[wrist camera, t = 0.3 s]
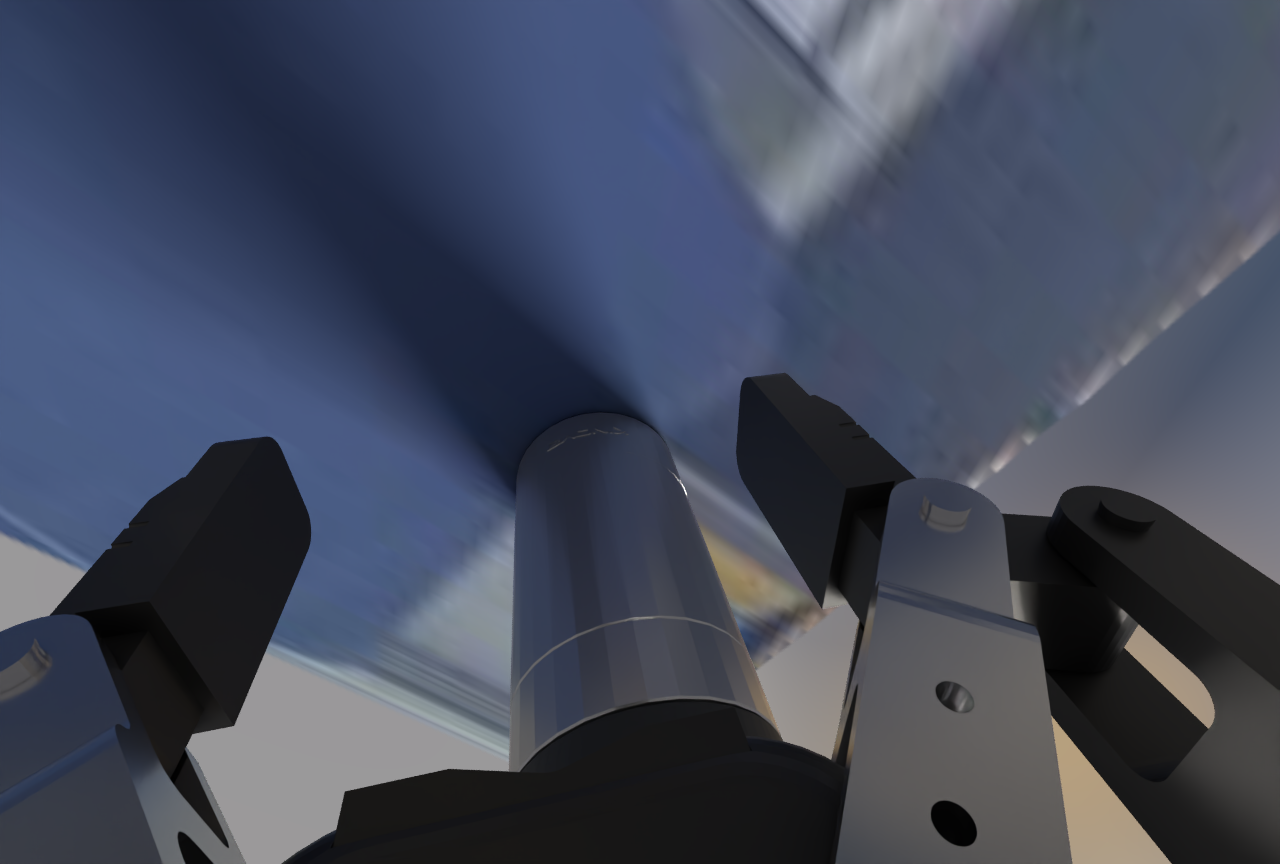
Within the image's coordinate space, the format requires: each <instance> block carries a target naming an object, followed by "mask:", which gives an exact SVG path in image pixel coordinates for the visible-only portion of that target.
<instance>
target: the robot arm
mask: <svg viewBox="0 0 1280 864" xmlns="http://www.w3.org/2000/svg"><path fill="white" fill-rule="evenodd" d="M736 456H737V464H738V469H739V472H740V475H741V478H742V480H743V482H744V484H745V485H746V487H747V489H748V490H749V492H750V493H751V495H752V497H753V498H754V500H755V502H756V503H757V505H758V506H759V508H760V510H761V511H762V513H763V514H764V516H765V518H766V519H767V521H768V523H769V524H770V526H771V527H772V529H773V531H774V532H775V534H776V535H777V537H778V539H779V540H780V542H781V544H782V545H783V547H784V548H785V550H786V552H787V553H788V555H789V556H790V558H791V560H792V561H793V563H794V565H795V566H796V568H797V569H798V571H799V573H800V574H801V576H802V577H803V579H804V581H805V582H806V584H807V586H808V587H809V589H810V590H811V592H812V594H813V595H814V597H815V598H816V600H817V602H818V603H819V605H820V607H821V608H822V609H827V608H832V607H837V606H842V605H847V604H849V605H850V606H851V608H852V609H853V611H854V612H855V614H856V615H857V617H858V618H859V622H858V626H857V630H856V635H855V641H854V646H853V651H852V657H851V662H850V668H849V673H848V678H847V684H846V689H845V694H844V700H843V705H842V711H841V716H840V722H839V727H838V731H837V737H836V741H835V746H834V750H833V754H832V759H831V760H830V759H828V758H826V757H825V756H822V755H820V754H817V753H815V752H813V751H810V750H808V749H806V748H803V747H800V746H797V745H793V744H790V743H787V742H783V740H782V738H781V735H780V732H779V730H778V727H777V724H776V722H775V719H774V717H773V714H772V711H771V709H770V706H769V704H768V701H767V699H766V696H765V693H764V691H763V688H762V686H761V683H760V681H759V678H758V676H757V673H756V670H755V668H754V665H753V663H752V660H751V659H750V656H749V654H748V651H747V648H746V646H745V643H744V641H743V638H742V636H741V633H740V630H739V628H738V625H737V623H736V620H735V618H734V615H733V612H732V610H731V607H730V605H729V602H728V600H727V597H726V594H725V592H724V589H723V587H722V584H721V582H720V579H719V577H718V574H717V571H716V569H715V566H714V564H713V561H712V559H711V556H710V553H709V551H708V548H707V546H706V543H705V541H704V538H703V535H702V533H701V530H700V528H699V525H698V523H697V520H696V517H695V515H694V512H693V510H692V507H691V505H690V502H689V499H688V497H687V494H686V491H685V489H684V486H683V484H682V481H681V479H680V476H679V474H678V471H677V469H676V466H675V464H674V461H673V459H672V456H671V454H670V451H669V448H668V446H667V445H666V444H665V442H664V441H663V439H662V438H661V437H660V435H659V434H657V433H656V432H655V431H654V430H653V429H651V428H650V427H649V426H648V425H646V424H644V423H642V422H640V421H638V420H636V419H634V418H631V417H628V416H624V415H620V414H614V413H602V412H599V413H590V414H582V415H578V416H575V417H572V418H568V419H565V420H563V421H561V422H559V423H557V424H555V425H553V426H551V427H550V428H548V429H547V430H546V431H545V432H543V433H542V434H541V435H539V436H538V437H537V438H536V439H535V440H534V441H533V443H532V444H531V445H530V446H529V448H528V449H527V450H526V452H525V454H524V456H523V458H522V460H521V462H520V464H519V469H518V473H517V478H516V516H515V543H514V580H513V618H512V655H511V693H510V747H509V772H506V771H483V770H460V769H447V770H442V771H438V772H433V773H428V774H424V775H419V776H414V777H410V778H405V779H401V780H396V781H391V782H387V783H382V784H378V785H373V786H368V787H364V788H360V789H355V790H350V791H345V793H344V798H343V802H342V807H341V811H340V816H339V820H338V825H337V829H336V830H335V831H333V832H331V833H329V834H327V835H325V836H323V837H321V838H320V839H318V840H317V841H315V842H313V843H311V844H310V845H308V846H307V847H305V848H303V849H302V850H300V851H298V852H297V853H295V854H294V855H293V856H291V857H290V858H289V859H287V860H286V861H284V862H283V863H282V864H1072V858H1071V851H1070V843H1069V837H1068V830H1067V822H1066V816H1065V808H1064V801H1063V795H1062V788H1061V781H1060V774H1059V768H1058V760H1057V753H1056V746H1055V739H1054V732H1053V725H1052V718H1051V716H1052V717H1053V718H1054V719H1055V720H1056V722H1057V723H1058V724H1059V725H1060V727H1061V728H1062V729H1063V730H1064V732H1065V733H1066V734H1067V735H1068V736H1069V738H1070V739H1071V740H1072V741H1073V743H1074V744H1075V745H1076V746H1077V748H1078V749H1079V750H1080V751H1081V752H1082V754H1083V755H1084V756H1085V757H1086V759H1087V760H1088V761H1089V762H1090V763H1091V765H1092V766H1093V767H1094V768H1095V770H1096V771H1097V772H1098V773H1099V774H1100V776H1101V777H1102V778H1103V779H1104V781H1105V782H1106V783H1107V784H1108V786H1109V787H1110V788H1111V789H1112V791H1113V792H1114V793H1115V794H1116V795H1117V797H1118V798H1119V799H1120V800H1121V802H1122V803H1123V804H1124V805H1125V807H1126V808H1127V809H1128V810H1129V812H1130V813H1131V814H1132V815H1133V816H1134V818H1135V819H1136V820H1137V821H1138V823H1139V824H1140V825H1141V826H1142V828H1143V829H1144V830H1145V831H1146V832H1147V834H1148V835H1149V836H1150V837H1151V839H1152V840H1153V841H1154V842H1155V843H1156V845H1157V846H1158V847H1159V848H1160V850H1161V851H1162V852H1163V853H1164V854H1165V856H1166V857H1167V858H1168V860H1169V861H1170V862H1171V863H1172V864H1280V585H1279V584H1277V583H1276V582H1274V581H1273V580H1271V579H1270V578H1268V577H1267V576H1265V575H1264V574H1262V573H1261V572H1259V571H1258V570H1257V569H1255V568H1254V567H1252V566H1250V565H1249V564H1248V563H1246V562H1245V561H1243V560H1241V559H1240V558H1239V557H1237V556H1236V555H1234V554H1233V553H1231V552H1230V551H1228V550H1227V549H1225V548H1224V547H1222V546H1221V545H1219V544H1218V543H1216V542H1215V541H1213V540H1212V539H1210V538H1209V537H1207V536H1206V535H1205V534H1203V533H1201V532H1200V531H1199V530H1197V529H1196V528H1194V527H1193V526H1191V525H1190V524H1188V523H1187V522H1185V521H1183V520H1182V519H1181V518H1179V517H1178V516H1176V515H1175V514H1173V513H1172V512H1170V511H1169V510H1167V509H1165V508H1164V507H1162V506H1160V505H1158V504H1156V503H1154V502H1152V501H1150V500H1148V499H1145V498H1143V497H1141V496H1138V495H1135V494H1132V493H1129V492H1125V491H1122V490H1118V489H1113V488H1107V487H1100V486H1080V487H1074V488H1071V489H1069V490H1067V491H1066V492H1064V493H1063V494H1062V496H1061V497H1060V499H1059V502H1058V504H1057V506H1056V508H1055V511H1054V513H1053V515H1052V517H1045V516H1029V515H1015V514H1001V512H1000V510H999V509H998V508H997V507H996V505H994V504H993V502H991V501H990V500H989V499H988V498H986V497H985V496H984V495H982V494H981V493H979V492H977V491H975V490H973V489H971V488H969V487H966V486H964V485H961V484H958V483H955V482H951V481H947V480H942V479H936V478H915V477H914V476H913V475H912V474H911V473H910V472H909V471H908V470H907V469H906V468H905V467H904V466H902V465H901V464H900V463H899V462H898V461H897V460H896V459H895V458H894V457H893V456H892V455H891V454H890V453H889V452H887V451H886V450H885V449H884V448H883V447H882V446H881V445H880V444H879V443H878V442H877V441H876V440H875V439H874V438H869V434H868V433H867V432H866V431H865V430H864V429H863V428H862V427H861V426H860V425H856V422H855V421H854V420H853V419H852V418H851V417H850V416H849V415H848V414H847V413H846V412H845V411H844V410H842V409H841V408H840V407H839V406H837V405H835V404H833V403H831V402H829V401H827V400H824V399H822V398H820V397H818V396H816V395H812V396H809V395H808V394H807V393H806V392H805V391H804V390H803V389H802V388H801V387H800V386H799V385H798V384H797V383H796V382H795V381H794V380H793V379H792V378H791V377H790V376H789V375H788V374H786V373H780V374H772V375H764V376H755V377H747V378H745V379H744V380H743V382H742V385H741V391H740V405H739V419H738V433H737V447H736ZM310 541H311V524H310V518H309V514H308V511H307V509H306V506H305V504H304V502H303V499H302V497H301V495H300V492H299V490H298V487H297V485H296V483H295V480H294V478H293V476H292V473H291V471H290V469H289V466H288V464H287V461H286V459H285V457H284V454H283V452H282V450H281V448H280V446H279V445H278V443H277V442H276V441H275V440H274V439H273V438H271V437H259V438H251V439H243V440H234V441H226V442H218V443H215V444H213V445H212V446H211V447H210V448H209V449H208V450H207V452H206V453H205V454H204V455H203V456H202V458H201V459H200V460H199V461H198V463H197V464H196V465H195V466H194V467H193V469H192V470H191V471H190V472H189V474H188V475H187V476H186V477H184V478H181V479H179V480H178V481H176V482H175V483H173V484H172V485H170V486H169V487H167V488H166V489H165V490H163V491H162V492H160V493H159V494H157V495H156V496H154V497H153V498H151V499H150V500H149V501H148V502H147V503H146V504H145V506H144V507H143V508H142V509H141V510H140V511H139V512H138V514H137V515H136V516H135V517H134V518H133V519H132V521H131V522H130V523H129V528H127V529H124V530H123V531H122V532H121V533H120V535H119V536H118V537H117V538H116V539H115V540H114V541H113V543H112V544H111V545H112V549H107V550H106V551H105V552H104V553H103V554H102V555H101V557H100V558H99V559H98V560H97V561H96V562H95V564H94V565H93V566H92V567H91V568H90V569H89V570H88V572H87V573H86V574H85V575H84V576H83V578H82V579H81V580H80V581H79V582H78V583H77V585H76V586H75V587H74V588H73V589H72V590H71V592H70V593H69V594H68V595H67V596H66V597H65V598H64V600H63V601H62V602H61V603H60V604H59V605H58V606H57V608H56V609H55V610H54V611H53V612H52V613H51V615H50V616H47V617H41V618H38V619H34V620H31V621H27V622H24V623H21V624H18V625H16V626H13V627H11V628H9V629H6V630H4V631H1V632H0V864H246V862H245V860H244V858H243V856H242V854H241V852H240V850H239V848H238V846H237V843H236V841H235V839H234V837H233V835H232V833H231V831H230V829H229V827H228V824H227V822H226V820H225V818H224V816H223V814H222V812H221V810H220V808H219V806H218V804H217V801H216V799H215V797H214V795H213V793H212V791H211V789H210V787H209V785H208V783H207V780H206V778H205V776H204V774H203V772H202V770H201V768H200V766H199V763H198V762H197V761H196V759H195V758H194V756H193V755H192V754H191V753H190V752H189V750H188V749H187V748H186V746H187V744H188V742H189V740H190V738H191V736H192V734H195V733H200V732H205V731H211V730H216V729H220V728H226V727H231V726H234V725H235V722H236V720H237V718H238V715H239V713H240V710H241V708H242V706H243V703H244V701H245V699H246V696H247V693H248V691H249V689H250V687H251V684H252V682H253V680H254V677H255V675H256V673H257V670H258V668H259V665H260V663H261V661H262V658H263V656H264V654H265V651H266V649H267V646H268V644H269V642H270V639H271V637H272V635H273V632H274V630H275V627H276V625H277V623H278V620H279V618H280V616H281V613H282V611H283V609H284V606H285V604H286V601H287V599H288V597H289V594H290V592H291V590H292V587H293V585H294V582H295V580H296V578H297V575H298V573H299V571H300V568H301V566H302V563H303V561H304V559H305V556H306V554H307V552H308V549H309V546H310ZM1138 624H1139V625H1140V626H1141V627H1142V628H1144V629H1145V630H1146V631H1147V632H1148V633H1149V634H1150V635H1151V636H1153V637H1154V638H1155V639H1156V640H1157V641H1158V642H1159V643H1160V644H1161V645H1163V646H1164V647H1165V648H1166V649H1167V650H1168V651H1169V652H1170V653H1172V654H1173V655H1174V656H1175V657H1176V658H1177V659H1178V660H1179V661H1180V662H1182V663H1183V664H1184V665H1185V666H1186V667H1187V668H1188V669H1189V670H1191V671H1192V672H1193V673H1194V674H1195V675H1196V676H1197V677H1198V678H1199V679H1200V681H1201V682H1202V683H1203V684H1204V686H1205V687H1206V689H1207V690H1208V692H1209V694H1210V696H1211V698H1212V701H1213V704H1214V709H1215V718H1214V722H1213V724H1212V725H1211V727H1210V728H1209V729H1208V728H1207V727H1206V726H1205V725H1204V724H1203V723H1202V722H1201V721H1200V720H1199V719H1198V718H1197V717H1196V716H1194V715H1193V714H1192V713H1191V712H1190V711H1189V710H1188V709H1187V708H1186V707H1185V706H1184V705H1183V704H1182V703H1181V702H1180V701H1179V700H1178V699H1177V698H1176V697H1175V696H1174V695H1173V694H1172V693H1171V692H1169V691H1168V690H1167V689H1166V688H1165V687H1164V686H1163V685H1162V684H1161V683H1160V682H1159V681H1158V680H1157V679H1156V678H1155V677H1154V676H1153V675H1152V674H1151V673H1150V672H1149V671H1148V670H1147V669H1146V668H1144V667H1143V666H1142V665H1141V664H1140V663H1139V662H1138V661H1137V660H1136V659H1135V658H1134V657H1133V656H1132V655H1131V654H1130V653H1129V652H1128V651H1127V650H1126V649H1125V648H1124V647H1125V645H1126V643H1127V642H1128V640H1129V639H1130V637H1131V635H1132V634H1133V632H1134V631H1135V629H1136V627H1137V626H1138Z"/></svg>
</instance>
